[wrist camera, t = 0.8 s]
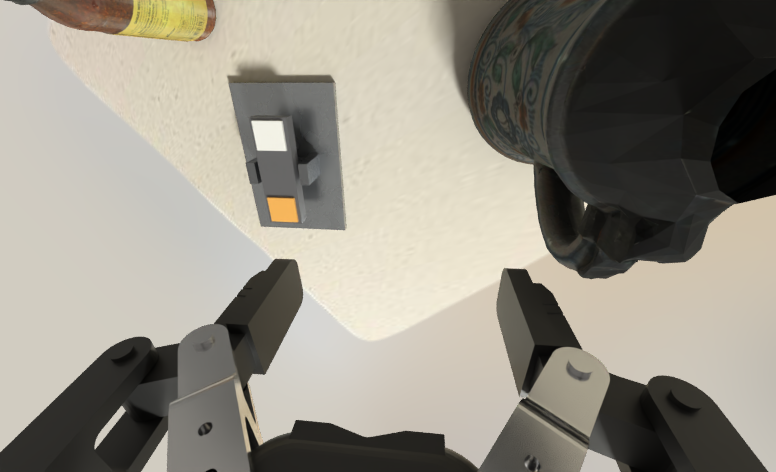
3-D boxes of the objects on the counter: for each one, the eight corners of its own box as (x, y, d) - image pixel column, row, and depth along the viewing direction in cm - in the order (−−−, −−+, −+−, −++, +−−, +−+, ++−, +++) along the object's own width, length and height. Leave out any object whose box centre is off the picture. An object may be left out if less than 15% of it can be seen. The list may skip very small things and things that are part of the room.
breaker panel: (232, 82, 35) (204, 84, 31) (334, 82, 34) (321, 84, 30) (263, 223, 44) (244, 241, 39) (346, 227, 43) (337, 246, 38)
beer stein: (627, -66, 26) (1607, -717, 4) (647, 146, 34) (1046, 288, 12) (442, 33, 31) (481, -49, 9) (496, 200, 39) (587, 371, 17)
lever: (255, 115, 33) (246, 117, 32) (291, 115, 33) (284, 118, 31) (275, 216, 39) (269, 223, 37) (306, 218, 39) (301, 224, 37)
